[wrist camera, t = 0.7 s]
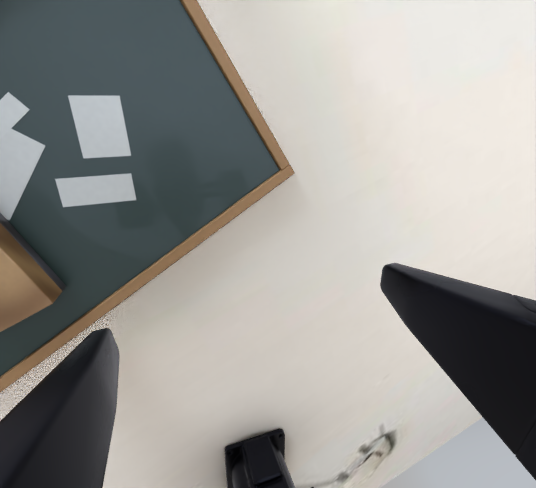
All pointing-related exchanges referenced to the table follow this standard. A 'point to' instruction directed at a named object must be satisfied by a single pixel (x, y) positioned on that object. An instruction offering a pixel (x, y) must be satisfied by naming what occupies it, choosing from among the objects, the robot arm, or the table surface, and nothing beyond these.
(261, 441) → the robot arm
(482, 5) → the table surface
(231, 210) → the slate board
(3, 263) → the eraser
